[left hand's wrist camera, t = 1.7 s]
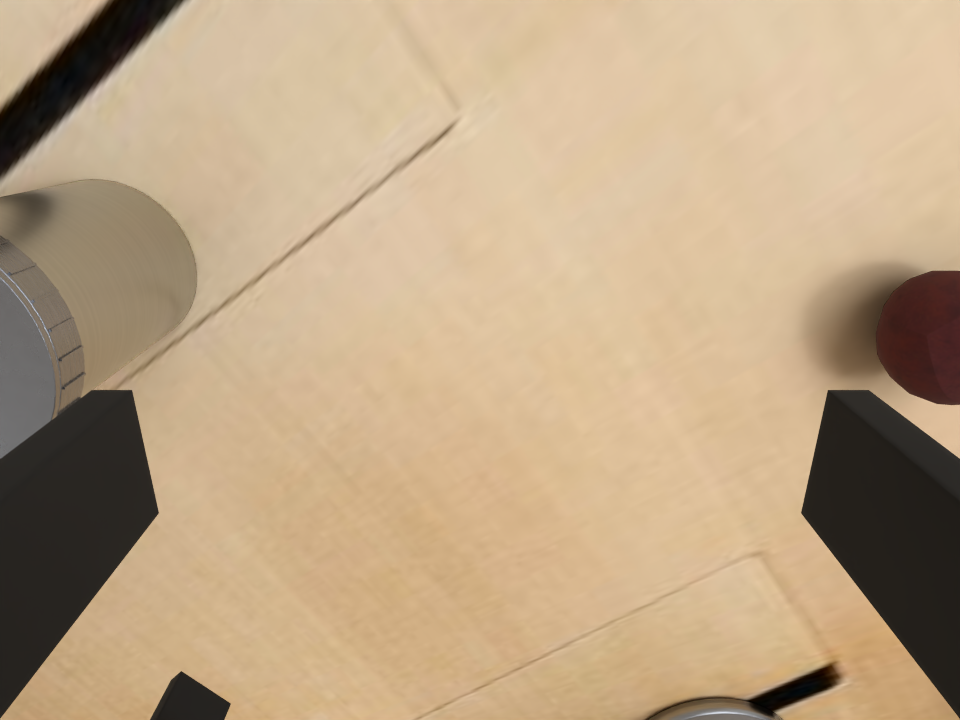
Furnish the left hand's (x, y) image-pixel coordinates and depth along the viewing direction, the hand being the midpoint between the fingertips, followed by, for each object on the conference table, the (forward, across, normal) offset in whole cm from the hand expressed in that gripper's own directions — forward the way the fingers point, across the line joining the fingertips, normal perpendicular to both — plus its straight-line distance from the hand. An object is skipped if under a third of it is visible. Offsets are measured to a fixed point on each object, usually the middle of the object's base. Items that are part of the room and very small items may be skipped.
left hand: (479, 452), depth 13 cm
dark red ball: (+28, +27, -6) cm, 39 cm away
